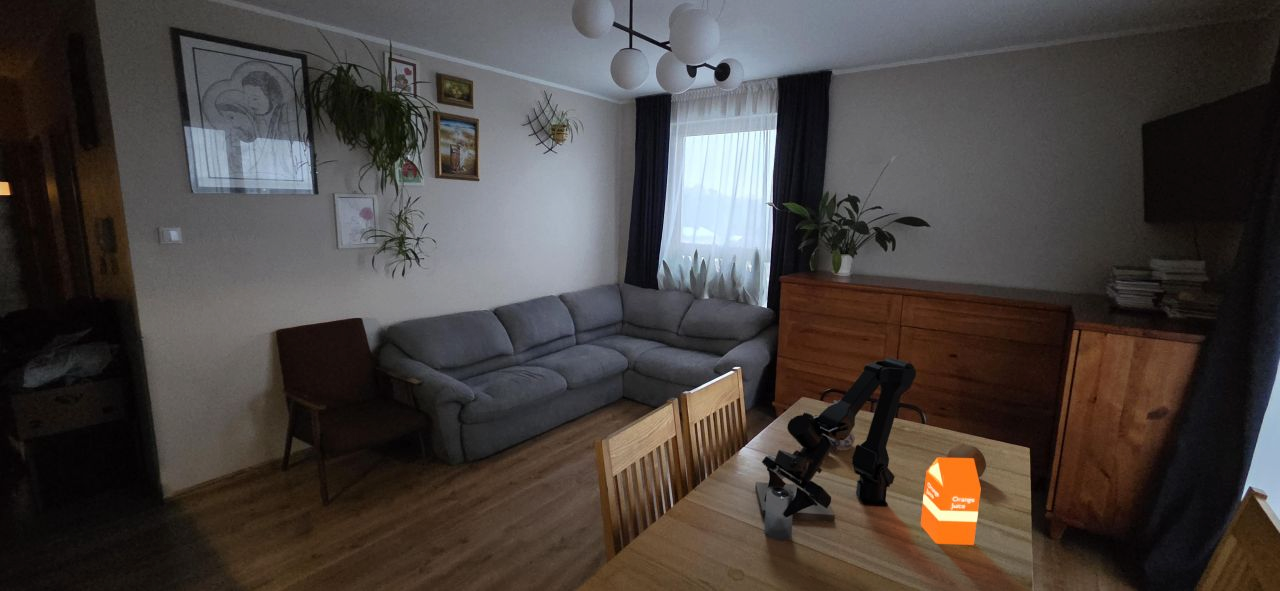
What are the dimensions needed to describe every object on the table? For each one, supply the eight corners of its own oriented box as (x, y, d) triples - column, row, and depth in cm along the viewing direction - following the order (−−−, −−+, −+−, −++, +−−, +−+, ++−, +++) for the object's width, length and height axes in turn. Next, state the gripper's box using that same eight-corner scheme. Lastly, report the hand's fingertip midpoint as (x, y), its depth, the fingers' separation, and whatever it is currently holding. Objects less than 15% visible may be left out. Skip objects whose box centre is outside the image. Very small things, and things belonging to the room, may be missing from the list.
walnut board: (820, 492, 144) (821, 485, 143) (834, 522, 130) (835, 514, 130) (755, 488, 146) (755, 481, 145) (762, 517, 132) (762, 509, 131)
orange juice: (919, 524, 130) (928, 449, 126) (955, 525, 129) (964, 450, 126) (936, 544, 122) (945, 465, 119) (974, 545, 122) (984, 466, 118)
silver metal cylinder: (788, 525, 128) (791, 486, 127) (793, 541, 122) (796, 500, 120) (762, 523, 129) (764, 484, 127) (766, 539, 123) (768, 498, 121)
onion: (951, 483, 150) (954, 450, 148) (941, 467, 159) (944, 436, 158) (989, 488, 147) (993, 455, 146) (976, 471, 157) (980, 440, 155)
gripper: (769, 425, 132) (732, 474, 129) (825, 455, 115) (785, 513, 112) (790, 447, 137) (756, 496, 133) (847, 480, 120) (810, 536, 117)
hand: (774, 509), depth 124 cm, fingers closed on silver metal cylinder, 6 cm apart
